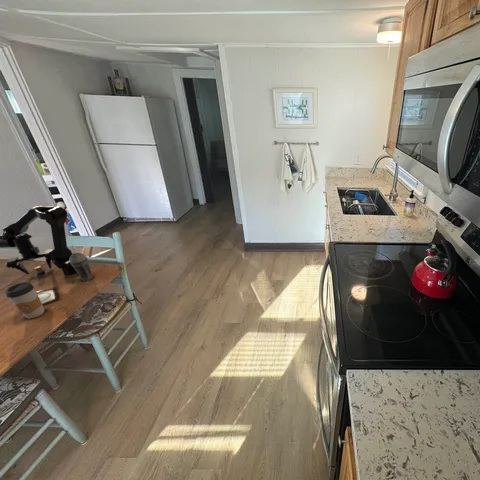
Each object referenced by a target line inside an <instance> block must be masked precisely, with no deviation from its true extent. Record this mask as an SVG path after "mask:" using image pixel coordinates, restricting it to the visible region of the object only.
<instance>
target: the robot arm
mask: <svg viewBox="0 0 480 480" xmlns="http://www.w3.org/2000/svg"><path fill="white" fill-rule="evenodd" d="M37 219H40V220H43V221H45V222H46V223H47V224H48V225H50V230H51V236H52V237H51V238H52V244H53V248H50V249H46V250H44V252H43V253H40V248H39V246H35V245H34V244H33V243H32V241H31V240H30V239H31V238H33V236H32V235H30V234H27V231H28V230H29V226H30V225H31V224H32V223H33V222H34V221H35V220H37ZM67 219H68V211H67V210H66V209H65V208H63V207H62V206H44V205H43V206H42V205H37V206H34V207H31V208H29V209H28V211H27V212H25V213H24V214H23V215H22V216H21V217H20V218H19V219H18V220H16V221H15V222H13V223H11V224H9V225H7V226H5V227H3V228H2V231H3V232H2V234H0V248H2V249H4V248H5V249H6V248H7V249H8V248H16V249H17V250H18V253H19V254H20V255H21V258H19V257H18V256H16V257H12V258H8V259H7V260H6V262H5V267H6V268H8V269H10V268H11V269H16V270H18V271H21V272H22V273H24V274H26V275H29V274H30V272H29V270H28V269H27V268H26V267H25V265H24V264H23V263H24V262H28V261H31V260H36V259H41V258H45V262H46V264H47V266H48V267H49V270H50V269H52V263H53V264H54V266H56V267H57V268H58V269H60V270H61V271H62V273H63V274H64V276H74V275H76V276H78V277H79V275H78V273H77V272H76V270H75V269H74V267H73V266H72V265H71V264H70V262H69V258H70V256H71V255H72V254H74V252H73V253H72V249H70V248H69V247H68V242H67V235H66V230H65V224H66V222H67Z"/></svg>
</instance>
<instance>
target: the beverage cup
mask: <svg viewBox="0 0 480 480" xmlns="http://www.w3.org/2000/svg"><path fill="white" fill-rule="evenodd" d="M71 248H72V250H73V254H72V255H71V256H70V258H69V260H68V261H69V262H70V264H71V265H72V266H73V267H74V269H75V270H76V272H77V275H78V277H79V278H80V279H81V280H82V281H83V282H87V281H90V280H92V279H93V278H94V275H93V272H92V270H91V267H90V264H89V261H88V257H87V256H86V254H84V253H81V252H77V251H76V249H75V247H74V245H73V244H72V245H71Z"/></svg>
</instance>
